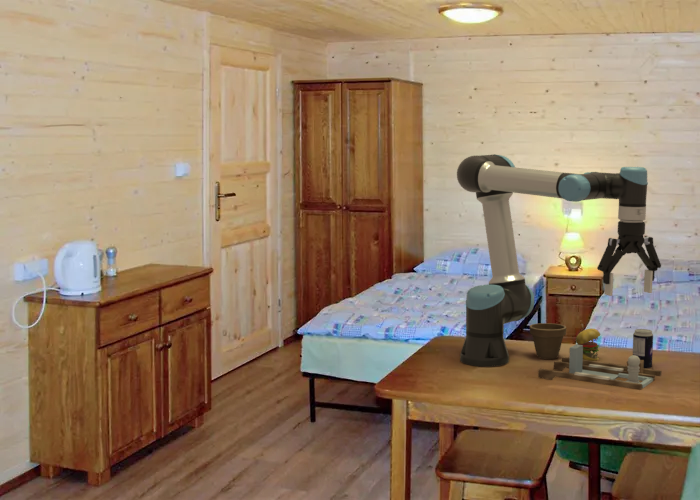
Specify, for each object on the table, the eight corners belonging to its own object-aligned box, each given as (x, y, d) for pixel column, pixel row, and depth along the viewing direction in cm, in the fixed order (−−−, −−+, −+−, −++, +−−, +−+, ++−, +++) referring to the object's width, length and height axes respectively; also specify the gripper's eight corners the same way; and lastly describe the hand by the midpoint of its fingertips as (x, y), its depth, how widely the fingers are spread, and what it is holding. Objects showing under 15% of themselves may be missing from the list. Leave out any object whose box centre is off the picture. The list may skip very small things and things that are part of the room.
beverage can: (653, 372, 269) (654, 333, 267) (633, 371, 270) (634, 332, 268) (650, 367, 274) (652, 328, 273) (631, 367, 275) (632, 328, 274)
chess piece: (646, 387, 254) (647, 355, 252) (633, 390, 251) (635, 358, 250) (631, 383, 258) (632, 352, 257) (618, 385, 255) (619, 354, 254)
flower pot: (535, 351, 297) (536, 321, 295) (570, 355, 291) (570, 324, 290) (524, 358, 287) (524, 327, 286) (559, 363, 281) (559, 331, 280)
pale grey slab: (566, 379, 261) (566, 349, 260) (578, 372, 268) (579, 343, 267) (642, 391, 248) (643, 359, 247) (652, 384, 255) (653, 352, 254)
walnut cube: (626, 375, 262) (626, 361, 261) (629, 372, 265) (629, 358, 265) (640, 376, 260) (641, 363, 259) (643, 373, 263) (643, 360, 263)
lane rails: (538, 377, 264) (538, 367, 264) (562, 364, 279) (563, 354, 279) (640, 394, 247) (640, 382, 247) (661, 379, 262) (661, 368, 261)
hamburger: (598, 365, 277) (599, 327, 276) (574, 363, 280) (574, 325, 278) (601, 360, 284) (601, 322, 283) (577, 358, 287) (578, 320, 285)
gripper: (602, 223, 252) (599, 298, 255) (676, 220, 260) (672, 293, 263) (586, 220, 259) (584, 293, 262) (659, 218, 267) (655, 288, 270)
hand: (628, 293), depth 263 cm, fingers open, 13 cm apart
